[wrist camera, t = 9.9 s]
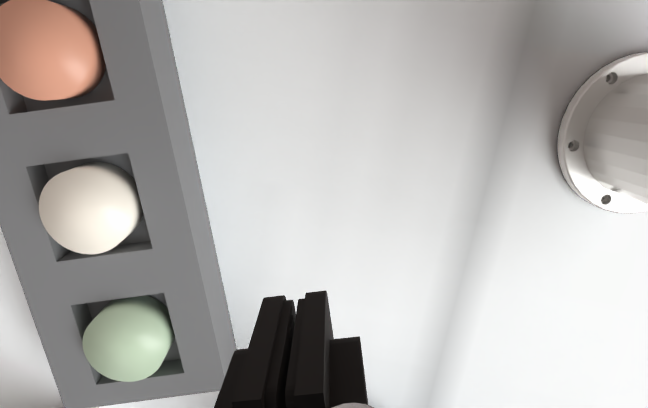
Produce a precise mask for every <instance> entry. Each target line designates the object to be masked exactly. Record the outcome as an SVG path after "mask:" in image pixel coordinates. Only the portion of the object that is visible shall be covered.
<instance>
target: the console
mask: <svg viewBox="0 0 648 408" xmlns="http://www.w3.org/2000/svg"><path fill="white" fill-rule="evenodd" d="M7 1H9V0H0V6H1V5H3V4H4V3H6V2H7ZM48 1H51V2H54V3H58V4H61V5H64V6H67V7H70V8H73V9H75V10H77V11H79V12H80V13H82V14H83V15H84V16H86V17H87V18H88V19H89V20H90V21H91V22H92V23H93V24H94V26H95V27H96V29H97V33H98V37H99V40H100V44H101V48H102V52H103V56H104V60H105V64H106V68H105V72H104V75H103V77H102V79H101V81H100V83H99V84H98V85H97V86H96V87H95V88H94V89H93V90H92V91H91V92H89V93H88V94H86V95H84V96H81V97H78V98H72V99H60V100H46V101H44V100H35V99H31V98H28V97H25V96H23V95H21V94H19V93H17V92H15V91H14V90H12V89H11V88H10V87H9V86H7V85H6V84H5V83H4V82H3V81H2V80H1V78H0V225H1V228H2V231H3V234H4V237H5V240H6V243H7V245H8V248H9V251H10V254H11V257H12V260H13V262H14V265H15V268H16V271H17V274H18V277H19V280H20V282H21V285H22V288H23V291H24V294H25V297H26V299H27V302H28V305H29V308H30V311H31V314H32V317H33V319H34V322H35V325H36V328H37V331H38V334H39V336H40V339H41V342H42V345H43V348H44V351H45V353H46V356H47V359H48V362H49V365H50V368H51V371H52V373H53V376H54V379H55V382H56V385H57V388H58V390H59V393H60V396H61V399H62V402H63V405H64V408H92V407H99V406H107V405H114V404H122V403H129V402H137V401H145V400H152V399H160V398H167V397H175V396H182V395H190V394H198V393H205V392H213V391H220V389H221V387H222V384H223V381H224V378H225V375H226V372H227V370H228V367H229V364H230V361H231V358H232V356H233V353H234V351H235V350H237V349H236V344H235V339H234V335H233V330H232V325H231V320H230V316H229V311H228V306H227V302H226V297H225V292H224V288H223V283H222V278H221V274H220V269H219V264H218V260H217V255H216V250H215V246H214V241H213V236H212V231H211V227H210V222H209V217H208V213H207V208H206V203H205V199H204V194H203V189H202V185H201V180H200V175H199V171H198V166H197V161H196V157H195V152H194V147H193V142H192V138H191V133H190V128H189V124H188V119H187V114H186V110H185V105H184V100H183V96H182V91H181V86H180V82H179V77H178V72H177V68H176V63H175V58H174V53H173V49H172V44H171V39H170V35H169V30H168V25H167V21H166V16H165V11H164V7H163V2H162V0H48ZM91 162H104V163H109V164H112V165H115V166H117V167H119V168H121V169H122V170H124V171H125V172H127V173H128V174H129V175H130V176H131V177H132V178H133V179H134V180H135V181H136V185H137V189H138V193H139V197H140V201H141V205H142V209H143V217H142V220H141V222H140V224H139V225H138V227H137V228H136V229H135V230H134V231H133V232H132V233H131V234H130V235H128V236H127V237H126V238H125V239H124V240H123V241H121V242H120V243H119V244H118V245H117V246H115V247H114V248H112V249H111V250H109V251H106V252H103V253H99V254H82V253H77V252H74V251H71V250H69V249H67V248H65V247H63V246H62V245H60V244H59V243H57V242H56V241H55V240H54V239H53V238H52V237H51V236H50V235H49V233H48V232H47V231H46V229H45V227H44V225H43V223H42V221H41V218H40V214H39V199H40V195H41V192H42V190H43V188H44V186H45V185H46V184H47V182H48V181H49V180H50V179H52V178H53V177H54V176H56V175H58V174H60V173H62V172H64V171H67V170H70V169H72V168H75V167H78V166H80V165H83V164H86V163H91ZM144 295H147V296H150V297H152V298H154V299H156V300H158V301H159V302H161V303H162V304H163V305H164V306H165V307H166V308H167V309H168V311H169V315H170V319H171V322H172V326H173V330H174V334H175V338H174V341H173V343H172V345H171V347H170V349H169V351H168V353H167V355H166V356H165V358H164V360H163V362H162V364H161V366H160V367H159V369H158V370H157V371H156V372H155V373H153V374H152V375H151V376H149V377H147V378H145V379H142V380H139V381H134V382H122V381H117V380H113V379H110V378H108V377H106V376H104V375H102V374H101V373H99V372H98V371H97V370H95V369H94V368H93V367H92V366H91V364H90V363H89V362H88V360H87V358H86V356H85V354H84V350H83V344H82V343H83V335H84V332H85V330H86V328H87V327H88V325H89V324H90V323H91V322H92V321H93V319H94V318H95V317H96V316H97V315H98V314H99V313H100V312H101V311H102V309H103V308H104V307H105V306H106V305H107V304H108V303H109V302H110V301H112V300H114V299H121V298H129V297H136V296H144Z"/></svg>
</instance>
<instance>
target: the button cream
mask: <svg viewBox="0 0 648 408" xmlns="http://www.w3.org/2000/svg"><path fill="white" fill-rule="evenodd" d="M39 214H40V218H41V221H42V223H43V225H44V227H45V229H46V231H47V232H48V233H49V235H50V236H51V237H52V238H53V239H54V240H55V241H56V242H57V243H59V244H60V245H62V246H63V247H65V248H67V249H69V250H71V251H74V252H77V253H82V254H99V253H103V252H106V251H109V250H111V249H112V248H114V247H115V246H117V245H118V244H119V243H120V242H121V241H123V240H124V239H125V238H126V237H127V236H128V235H130V234H131V233H132V232H133V231H134V230H135V229H136V228H137V227H138V225H139V224H140V222H141V220H142V217H143V209H142V205H141V201H140V197H139V193H138V189H137V185H136V181H135V180H134V179H133V178H132V177H131V176H130V175H129V174H128V173H127V172H125V171H124V170H122V169H121V168H119V167H117V166H115V165H112V164H109V163H104V162H91V163H86V164H83V165H80V166H78V167H75V168H72V169H70V170H67V171H64V172H62V173H60V174H58V175H56V176H54V177H53V178H52V179H50V180H49V181H48V182H47V184H46V185H45V186H44V188H43V190H42V192H41V195H40V199H39Z"/></svg>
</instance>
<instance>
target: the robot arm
mask: <svg viewBox="0 0 648 408" xmlns="http://www.w3.org/2000/svg"><path fill="white" fill-rule="evenodd" d="M606 77H607V79H606ZM569 143H570V145H569ZM568 145H569V147H568ZM557 150H558V158H559V164H560V167H561V170H562V173H563V176H564V178H565V179H566V181H567V182H568V184H569V186H570V187H571V188H572V189H573V190H574V191H575V192H576V193H577V194H578V195H579V197H581V198H582V199H584V200H585V201H587V202H589V203H590V204H592V205H594V206H597V207H599V208H601V209H604V210H608V211H612V212H616V213H637V212H645V211H648V52H644V53H637V54H632V55H629V56H626V57H623V58H620V59H617V60H615V61H613V62H612V63H610V64H608V65H606V66H604V67H602V68H601V69H600V70H599V71H597V72H596V73H595V74H594V75H592V76H591V77H590V78H589V79H588V80H587V81H586V82H585V83H584V84H583V85H582V86H581V87H580V89H579V90H578V91H577V92H576V94H575V95H574V97H573V98H572V100H571V102H570V103H569V105H568V107H567V109H566V112H565V114H564V116H563V118H562V122H561V126H560V130H559V134H558V147H557ZM214 408H374V407H371V406H369V405H368V399H367V391H366V383H365V374H364V366H363V358H362V350H361V342H360V337H351V338H341V339H334V338H333V331H332V324H331V317H330V310H329V304H328V297H327V292H326V291H319V292H310V293H306V295H305V299H299V300H298V305H297V312H295V306H294V302H293V300H287V301H286V297H285V296H275V297H266V298H264V299H263V301H262V305H261V308H260V311H259V315H258V318H257V321H256V324H255V328H254V331H253V334H252V337H251V341H250V344H249V347H248V349H239V350H235V351H234V353H233V356H232V358H231V361H230V364H229V367H228V370H227V372H226V375H225V378H224V381H223V384H222V387H221V389H220V392H219V395H218V398H217V401H216V404H215V406H214Z"/></svg>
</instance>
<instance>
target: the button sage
mask: <svg viewBox="0 0 648 408" xmlns="http://www.w3.org/2000/svg"><path fill="white" fill-rule="evenodd" d="M174 338H175V334H174V330H173V326H172V322H171V319H170V315H169V311H168V309H167V308H166V307H165V306H164V305H163V304H162V303H161V302H159V301H158V300H156V299H154V298H152V297H150V296H147V295H144V296H136V297H129V298H121V299H114V300H112V301H110V302H109V303H108V304H107V305H106V306H105V307H104V308H103V309H102V311H101V312H100V313H99V314H98V315H97V316H96V317H95V318H94V319H93V321H92V322H91V323H90V324H89V325H88V327H87V328H86V330H85V332H84V335H83V343H82V344H83V350H84V354H85V356H86V358H87V360H88V362H89V363H90V364H91V366H92V367H93V368H94V369H95V370H97V371H98V372H99V373H101V374H102V375H104V376H106V377H108V378H110V379H113V380H117V381H122V382H134V381H139V380H142V379H145V378H147V377H149V376H151V375H152V374H153V373H155V372H156V371H157V370H158V369H159V367H160V366H161V364H162V362H163V360H164V358H165V356H166V355H167V353H168V351H169V349H170V347H171V345H172V343H173V341H174Z"/></svg>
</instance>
